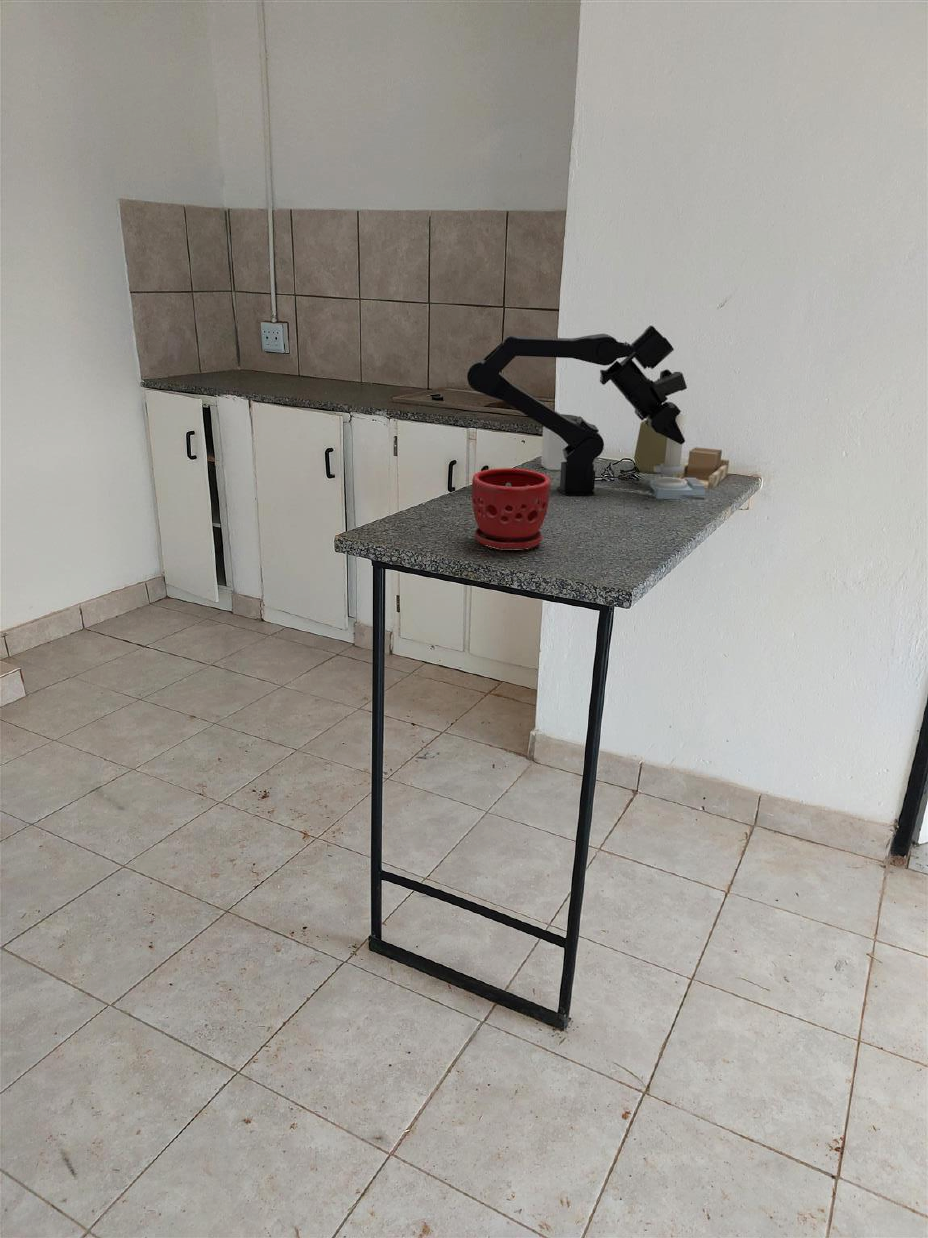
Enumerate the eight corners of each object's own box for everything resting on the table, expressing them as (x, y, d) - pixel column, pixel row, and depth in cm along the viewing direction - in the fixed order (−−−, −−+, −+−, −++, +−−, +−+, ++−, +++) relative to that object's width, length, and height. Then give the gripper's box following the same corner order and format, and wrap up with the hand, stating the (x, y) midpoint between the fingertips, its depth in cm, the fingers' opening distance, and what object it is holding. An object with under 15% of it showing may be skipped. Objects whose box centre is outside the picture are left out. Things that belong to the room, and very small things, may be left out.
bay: (711, 493, 193) (714, 472, 192) (670, 488, 197) (672, 467, 195) (726, 479, 207) (729, 460, 205) (687, 474, 211) (690, 455, 209)
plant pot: (455, 541, 155) (456, 472, 151) (513, 530, 163) (516, 464, 158) (503, 560, 146) (506, 488, 141) (562, 547, 153) (567, 478, 149)
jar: (560, 472, 209) (563, 420, 205) (534, 466, 215) (537, 416, 210) (584, 467, 215) (588, 417, 211) (558, 462, 221) (561, 412, 216)
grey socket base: (656, 498, 188) (658, 484, 187) (649, 489, 195) (650, 476, 194) (704, 499, 188) (706, 485, 187) (694, 490, 195) (696, 477, 194)
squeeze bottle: (627, 470, 213) (634, 393, 207) (659, 470, 215) (667, 393, 208) (639, 478, 206) (647, 398, 199) (673, 477, 207) (681, 398, 201)
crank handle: (680, 470, 192) (687, 413, 188) (685, 475, 188) (693, 417, 183) (651, 469, 192) (658, 412, 188) (656, 474, 187) (663, 416, 183)
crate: (713, 480, 200) (716, 454, 198) (686, 477, 203) (689, 451, 201) (718, 476, 205) (722, 449, 203) (692, 472, 208) (695, 447, 206)
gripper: (675, 361, 172) (724, 421, 177) (655, 353, 190) (700, 407, 194) (630, 402, 175) (680, 460, 179) (615, 389, 193) (660, 443, 197)
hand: (681, 441), depth 187 cm, fingers closed on crank handle, 3 cm apart
